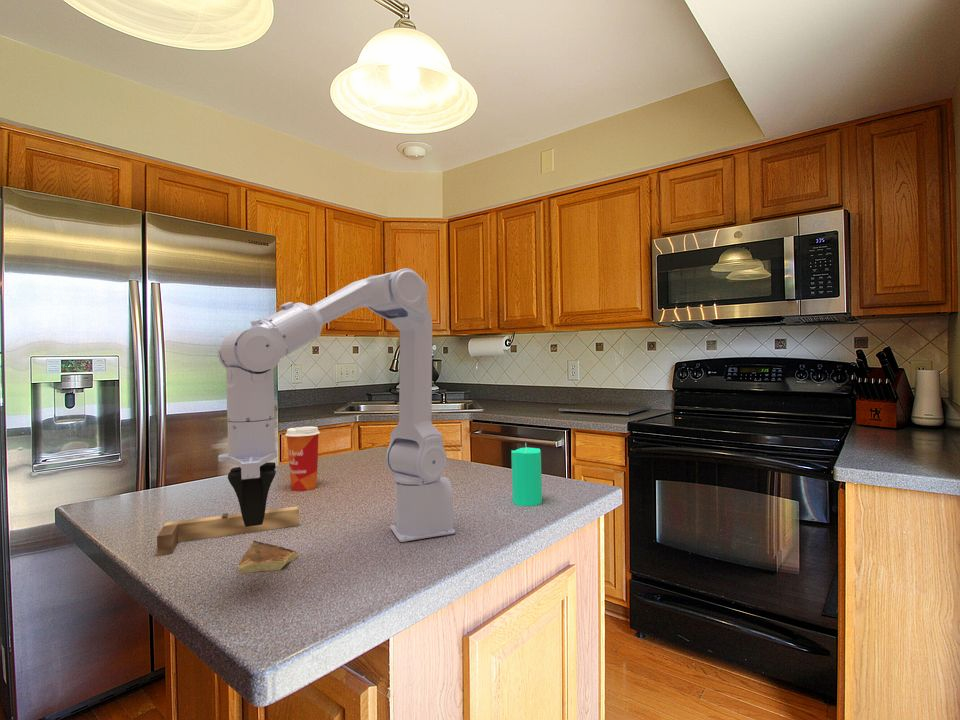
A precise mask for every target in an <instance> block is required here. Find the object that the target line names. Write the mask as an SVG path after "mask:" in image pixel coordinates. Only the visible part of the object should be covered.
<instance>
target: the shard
mask: <svg viewBox="0 0 960 720" xmlns="http://www.w3.org/2000/svg"><path fill="white" fill-rule="evenodd" d="M298 554H299V553H298V552H297V551H296V550H292V549H290V548H285V547H283V546H279V545H275V544H272V543H271V544H270V543H265V542H261V541H257V540H253V541H252V543H251V544H250V547H249V548H248V549H247V550H246V551H245V554H243V556H242V558H241V559H240V561H239V564H238V567H237V568H238V569H237V571H238V573H239V574H240V575H241V574H243V575H244V574H250V573H257V572H270V571H272V572H273V571H281V570H282V569H283V567H284V566H286V564H288V563H289V562H292V561H293V560H296V559H297V557H298Z"/></svg>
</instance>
